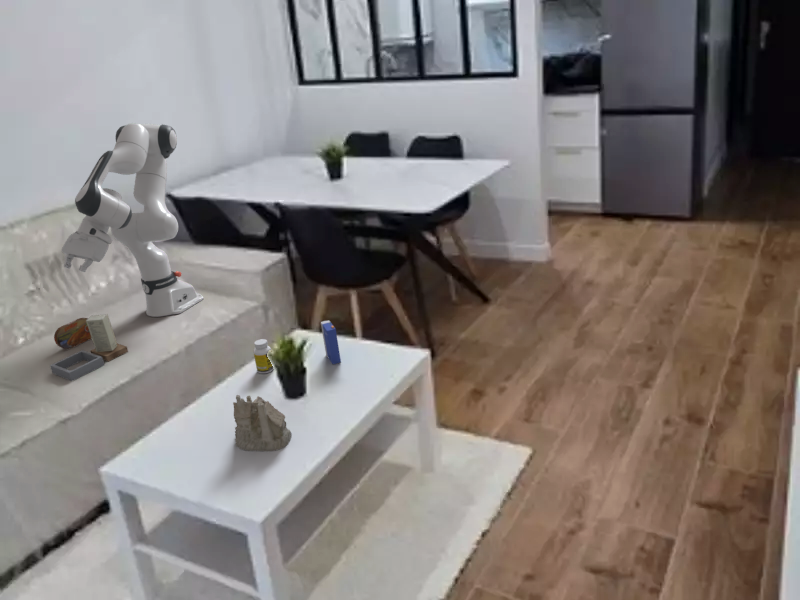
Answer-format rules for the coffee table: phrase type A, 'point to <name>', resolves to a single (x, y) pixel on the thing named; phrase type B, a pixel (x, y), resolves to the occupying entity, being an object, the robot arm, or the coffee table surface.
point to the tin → (72, 334)
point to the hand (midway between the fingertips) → (73, 269)
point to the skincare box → (101, 333)
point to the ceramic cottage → (259, 425)
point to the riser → (111, 352)
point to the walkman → (330, 342)
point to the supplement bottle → (262, 356)
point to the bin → (71, 375)
